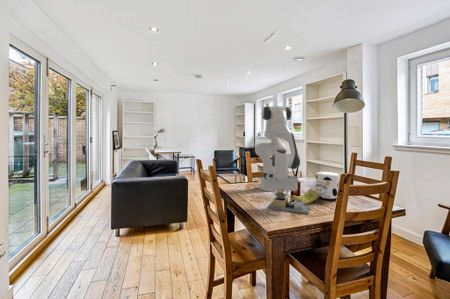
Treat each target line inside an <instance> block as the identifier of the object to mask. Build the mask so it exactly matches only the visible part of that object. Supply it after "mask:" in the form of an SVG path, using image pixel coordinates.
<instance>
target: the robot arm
mask: <svg viewBox="0 0 450 299" xmlns="http://www.w3.org/2000/svg"><path fill="white" fill-rule="evenodd" d="M292 115H293V114H292V109H291V107H288V106H282V105H273V106H269V105H268V106H267V105H266V106H264V107H263V108H262V110H261V116H262V119H263V121H266V124H265V132H264V134H265V135H264V136H265V137H266V138H267V139H268V140H270V142H260V143H257V144H256V145H255V147H254V152H255V154H256V155H257V156H258V157H259V158H260V159H261V161H262V168H263V169H262V170H263V171H262V177H261V178H260V186H258V189H260V190H262V191H265V192H273V193H274V196H275V197H277V189H279V190H284V191H285V192H286V193H284V198H288V197H287V196H288V193H289V192H291V191H292V192H297V191H298V183H299V179H298V177H297V176H295V175H289V172H290V171H289V169H293V170H296V169H297V168H299V167H300V165H301V158H300V155H299V153H298V148H297V143H296V139H295V136H294V133H293V131H291V130H290V129H289V126H288V121H289V120H291V118H292ZM281 140H285V141H286V142H287V143H288V145H289V150H290V153H289V151H288V150H287V146H286V145H285V144H284V143H283V142H282V141H281Z"/></svg>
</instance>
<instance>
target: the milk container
mask: <svg viewBox="0 0 450 299" xmlns="http://www.w3.org/2000/svg"><path fill="white" fill-rule="evenodd" d="M339 182H340V175H339V173H336V172H330V171H318V172H316V173H315V186H314V189H313V190H314V191H315V192H316V193H317V194H318V198H319V199H322V200H336V198H337V192H338V186H339V185H340V183H339ZM339 187H340V186H339ZM337 199H338V198H337Z"/></svg>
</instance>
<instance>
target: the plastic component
mask: <svg viewBox="0 0 450 299" xmlns="http://www.w3.org/2000/svg"><path fill="white" fill-rule="evenodd" d="M318 198H319V197H318V194H317V193H316V192H315V191H314V189H313V188H311V189H309V190H307V191H306V192H305V193H303V194H302V195H299V196H296V195H295V194H294V195H292V197H291V198H290V200H289V202H291V203H294V201H295V200H303V201H304V205H306V206H308V205H309V204H311V203H313V202H315V200H317V199H318Z"/></svg>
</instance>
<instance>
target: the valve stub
mask: <svg viewBox="0 0 450 299" xmlns="http://www.w3.org/2000/svg"><path fill="white" fill-rule="evenodd" d="M276 193H277V196H276V197H277V200H283V201H284V198H285V197H284V194H285V190H279V189H277V191H276Z"/></svg>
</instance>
